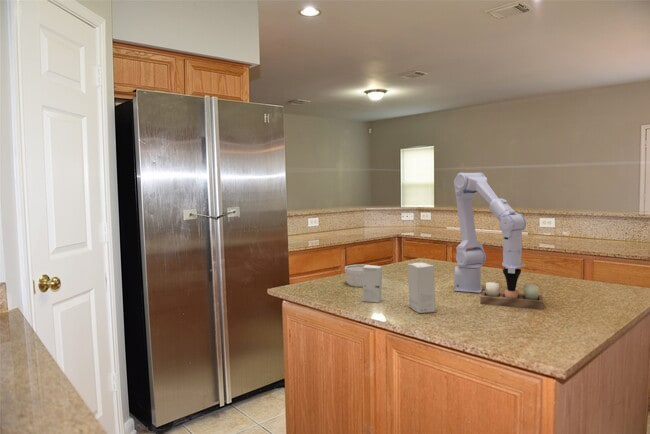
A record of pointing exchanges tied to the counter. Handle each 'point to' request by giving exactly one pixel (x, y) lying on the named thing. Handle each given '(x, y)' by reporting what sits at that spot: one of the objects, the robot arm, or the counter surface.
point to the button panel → (511, 301)
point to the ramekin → (354, 275)
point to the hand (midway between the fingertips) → (511, 290)
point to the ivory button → (492, 289)
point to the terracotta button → (511, 294)
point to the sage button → (531, 292)
